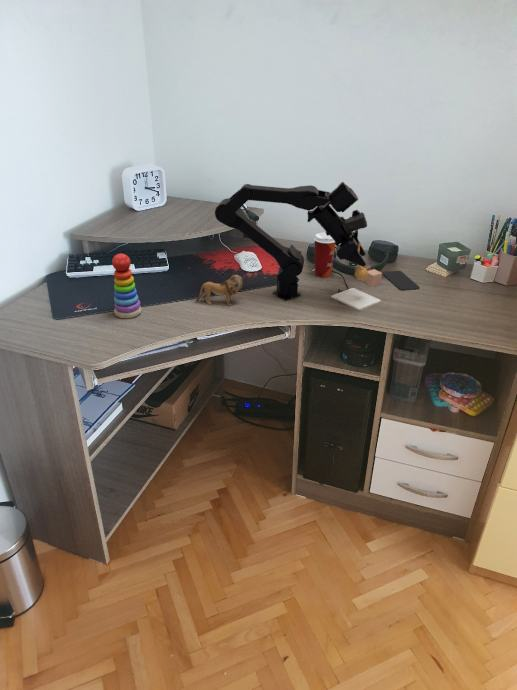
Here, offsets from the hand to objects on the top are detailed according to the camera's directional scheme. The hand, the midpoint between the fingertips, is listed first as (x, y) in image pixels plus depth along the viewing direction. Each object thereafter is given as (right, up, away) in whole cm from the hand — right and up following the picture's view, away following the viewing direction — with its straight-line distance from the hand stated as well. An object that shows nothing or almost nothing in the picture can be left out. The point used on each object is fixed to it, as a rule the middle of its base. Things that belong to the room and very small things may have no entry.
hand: (364, 260), depth 165 cm
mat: (-1, -11, +7) cm, 13 cm away
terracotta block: (+6, -5, +18) cm, 20 cm away
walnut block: (+4, -2, +22) cm, 23 cm away
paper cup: (-10, -1, +24) cm, 26 cm away
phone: (+16, -4, +20) cm, 26 cm away
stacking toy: (-71, -16, -2) cm, 73 cm away
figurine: (-1, -6, +4) cm, 7 cm away
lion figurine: (-44, -12, +5) cm, 46 cm away
